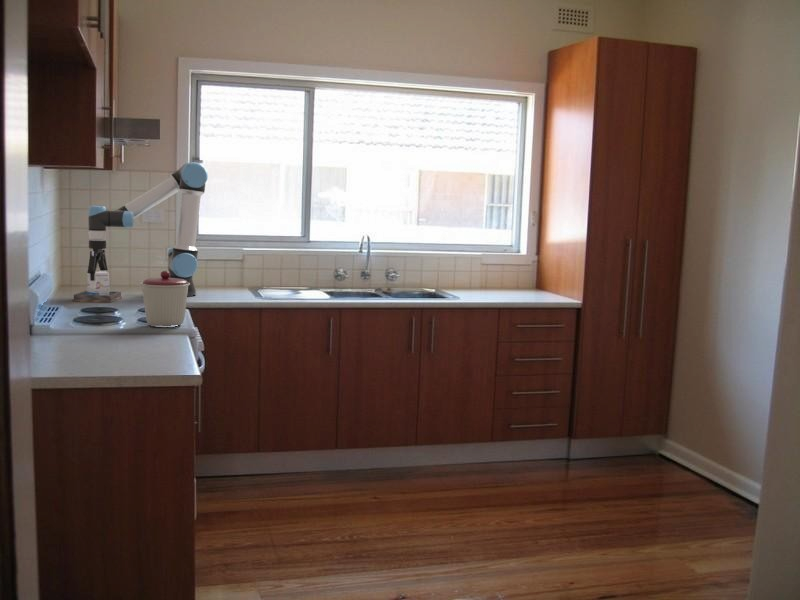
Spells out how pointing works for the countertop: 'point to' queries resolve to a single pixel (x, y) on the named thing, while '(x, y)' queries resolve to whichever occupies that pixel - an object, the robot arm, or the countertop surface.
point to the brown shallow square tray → (97, 297)
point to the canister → (165, 300)
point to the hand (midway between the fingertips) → (97, 286)
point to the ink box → (99, 284)
